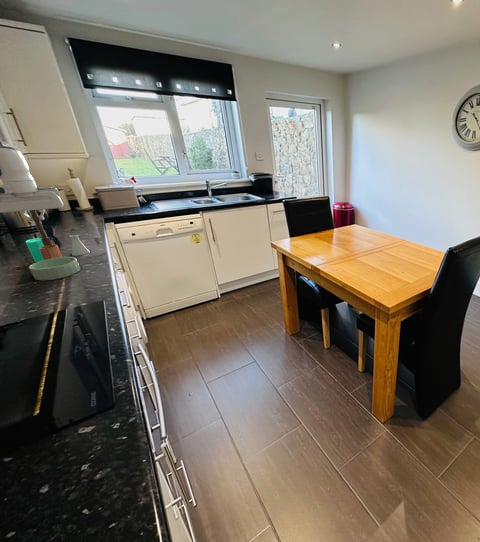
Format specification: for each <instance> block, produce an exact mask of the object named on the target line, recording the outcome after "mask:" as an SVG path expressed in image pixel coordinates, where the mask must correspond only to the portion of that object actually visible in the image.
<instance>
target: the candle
mask: <svg viewBox="0 0 480 542" xmlns="http://www.w3.org/2000/svg"><path fill="white" fill-rule="evenodd" d="M41 239H42V238H41V237H36V238H35V237H34V236H33V237H32V238H30V239H27V240H25V244H26V246H27V248H28V250H29V252H30V254H31V256H32V258H33V261H34V263H36V262H39V261H43V260H44V258H43V256H42V254H41V252H40V249H39V247H42V246H44V245H43V243H42V241H41Z"/></svg>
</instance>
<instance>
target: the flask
mask: <svg viewBox="0 0 480 542" xmlns="http://www.w3.org/2000/svg"><path fill="white" fill-rule="evenodd" d="M69 238H70V239H71V243H72V244H71V250H72V251H71V255H72V256H83V255H87V254H90V252H91V251H90V250H89V249H88V248H87V247H86V246H85V245H84V243H83V242H82V241H81V240H80V238H79V234H71V235H69Z"/></svg>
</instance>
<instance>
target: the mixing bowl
mask: <svg viewBox="0 0 480 542" xmlns="http://www.w3.org/2000/svg"><path fill="white" fill-rule="evenodd" d="M28 270H29V271H30V273H31V275H32V278H33V279H34V280H36V281H54V280H60V279H65V278H68V277H71V276H73V275H74V274H77V273H78V272H80V271H81V265H80V264H79V261H78V259H77V257H74V256H62V257H58V258H52V259H47V260H43V261H39V262H34V263H32V264H30V265H29V266H28Z"/></svg>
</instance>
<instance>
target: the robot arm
mask: <svg viewBox="0 0 480 542" xmlns="http://www.w3.org/2000/svg"><path fill="white" fill-rule="evenodd" d="M0 180H1V182H2V184H0V214H3V213H12V212H13V213H16V212H20V215H22V216H23V217H24V218H26V219H27V221H28V222H34V220H33V218H32V216H31V215H29V214H27V211H29V210H35V211H38V212H39V213H40V215H38V216H37V217H38V218H39V220H40V221H44V220H45V217H44V216H45V215H44V214H45V212H46V210H51V209H52V210H53V209H62V208H63V207H64V206H65V204H64V202H63V200H62V198H61V192H60V190H59V189H58V188H57V187H54V186H38V185H37V183H36V181H35V179H34V177H33V176H32V174H31V173H30V167H29V165H28V163H27V160H26V159H25V157H24V156H23V154H22V152H20V151H19V149H17V148H15V147H13V146H12V147H11V146H8V145H7V146H6V145H0Z"/></svg>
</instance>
